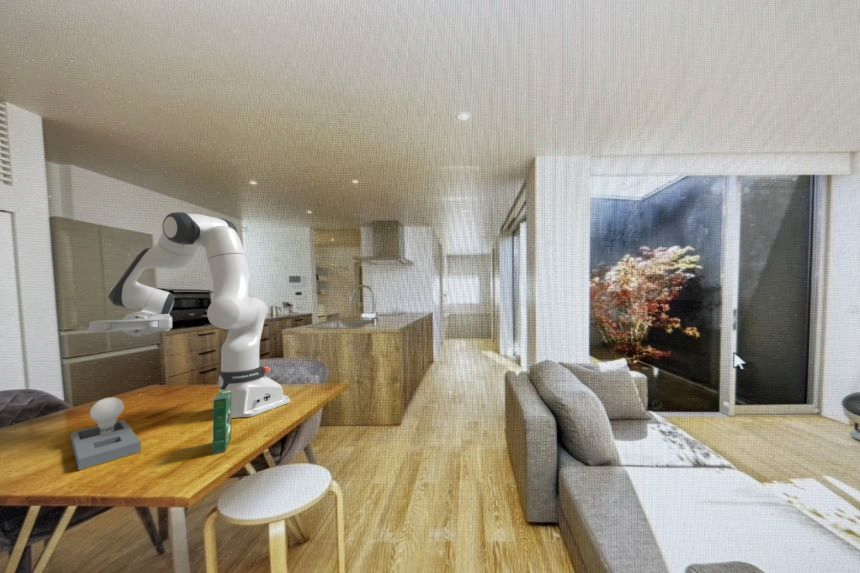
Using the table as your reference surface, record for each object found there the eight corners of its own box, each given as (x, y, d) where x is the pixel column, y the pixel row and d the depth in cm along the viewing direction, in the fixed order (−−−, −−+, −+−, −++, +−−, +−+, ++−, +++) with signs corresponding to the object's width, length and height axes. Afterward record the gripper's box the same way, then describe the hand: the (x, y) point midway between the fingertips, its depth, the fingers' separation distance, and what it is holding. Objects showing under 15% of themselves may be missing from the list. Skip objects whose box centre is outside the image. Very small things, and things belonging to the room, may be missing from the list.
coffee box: (219, 440, 79) (219, 390, 79) (232, 438, 80) (232, 389, 80) (211, 455, 71) (212, 399, 72) (225, 452, 72) (226, 397, 73)
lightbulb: (121, 431, 86) (122, 392, 87) (124, 437, 82) (125, 397, 83) (88, 439, 81) (89, 399, 82) (89, 446, 77) (90, 403, 78)
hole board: (124, 428, 88) (124, 419, 88) (140, 451, 74) (141, 441, 74) (71, 441, 80) (71, 432, 80) (78, 471, 66) (78, 459, 66)
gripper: (97, 316, 102) (81, 317, 90) (175, 313, 113) (169, 314, 102) (96, 334, 101) (80, 338, 90) (174, 330, 113) (169, 333, 102)
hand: (128, 325), depth 96 cm, fingers open, 8 cm apart
